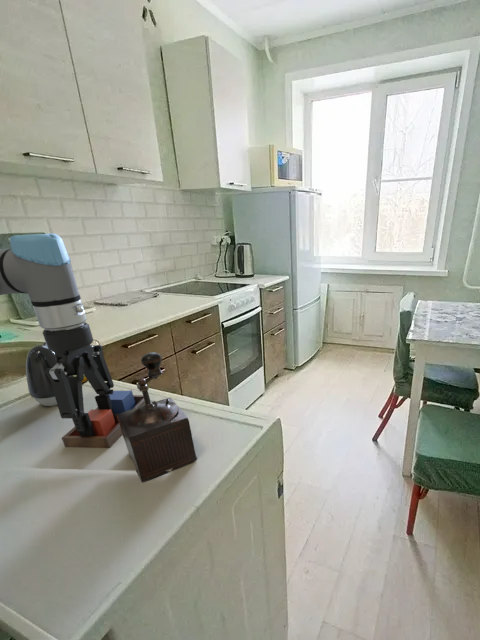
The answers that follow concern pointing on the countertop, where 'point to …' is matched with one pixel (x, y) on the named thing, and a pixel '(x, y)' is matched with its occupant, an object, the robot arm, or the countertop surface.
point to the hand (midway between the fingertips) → (100, 431)
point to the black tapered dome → (40, 374)
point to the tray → (98, 441)
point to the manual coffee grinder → (156, 430)
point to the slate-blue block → (122, 401)
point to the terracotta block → (102, 421)
